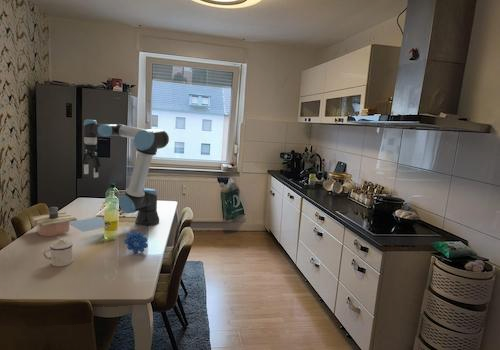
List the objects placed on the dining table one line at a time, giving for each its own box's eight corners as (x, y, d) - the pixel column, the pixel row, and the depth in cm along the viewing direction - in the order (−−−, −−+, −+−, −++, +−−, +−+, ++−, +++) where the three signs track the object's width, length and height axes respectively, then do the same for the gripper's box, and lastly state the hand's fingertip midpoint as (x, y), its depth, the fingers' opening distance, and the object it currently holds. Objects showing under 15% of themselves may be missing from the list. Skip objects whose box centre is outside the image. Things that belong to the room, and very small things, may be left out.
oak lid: (76, 220, 195) (76, 208, 194) (42, 226, 181) (42, 214, 180) (63, 213, 206) (63, 202, 205) (30, 219, 192) (30, 207, 191)
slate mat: (118, 224, 212) (118, 224, 212) (83, 232, 195) (83, 231, 195) (101, 216, 226) (101, 216, 226) (67, 223, 209) (67, 222, 209)
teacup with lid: (73, 257, 162) (73, 235, 160) (72, 265, 154) (71, 242, 152) (45, 260, 157) (44, 237, 155) (42, 269, 149) (40, 244, 147)
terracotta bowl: (74, 231, 196) (74, 220, 195) (44, 238, 184) (43, 226, 182) (62, 224, 206) (62, 214, 205) (33, 230, 194) (33, 219, 192)
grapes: (123, 256, 167) (123, 234, 165) (124, 251, 173) (124, 229, 171) (147, 255, 170) (147, 233, 168) (147, 250, 176) (148, 229, 174)
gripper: (76, 141, 220) (76, 173, 224) (94, 145, 205) (94, 179, 208) (87, 141, 226) (87, 172, 229) (105, 145, 210) (106, 178, 214)
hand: (91, 175), depth 219 cm, fingers open, 13 cm apart
